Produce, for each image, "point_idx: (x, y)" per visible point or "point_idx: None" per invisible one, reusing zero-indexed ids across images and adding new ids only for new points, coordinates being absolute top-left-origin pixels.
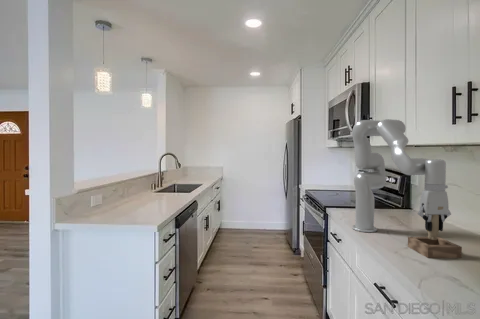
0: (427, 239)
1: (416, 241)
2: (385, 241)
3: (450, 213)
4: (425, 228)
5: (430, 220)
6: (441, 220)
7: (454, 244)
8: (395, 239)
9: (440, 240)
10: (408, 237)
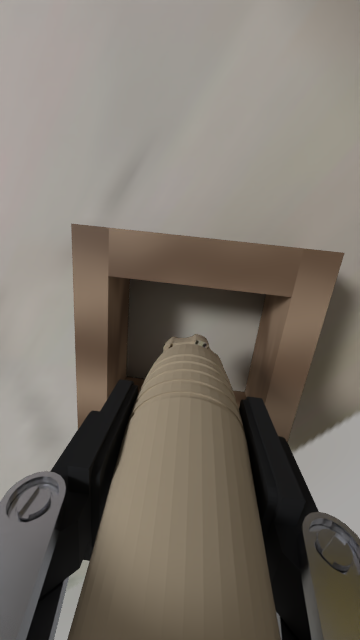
0: (205, 285)
1: (76, 334)
2: (5, 84)
3: None
4: (118, 381)
5: (63, 585)
6: (278, 603)
7: (278, 428)
8: (110, 27)
9: (282, 325)
10: (73, 231)
